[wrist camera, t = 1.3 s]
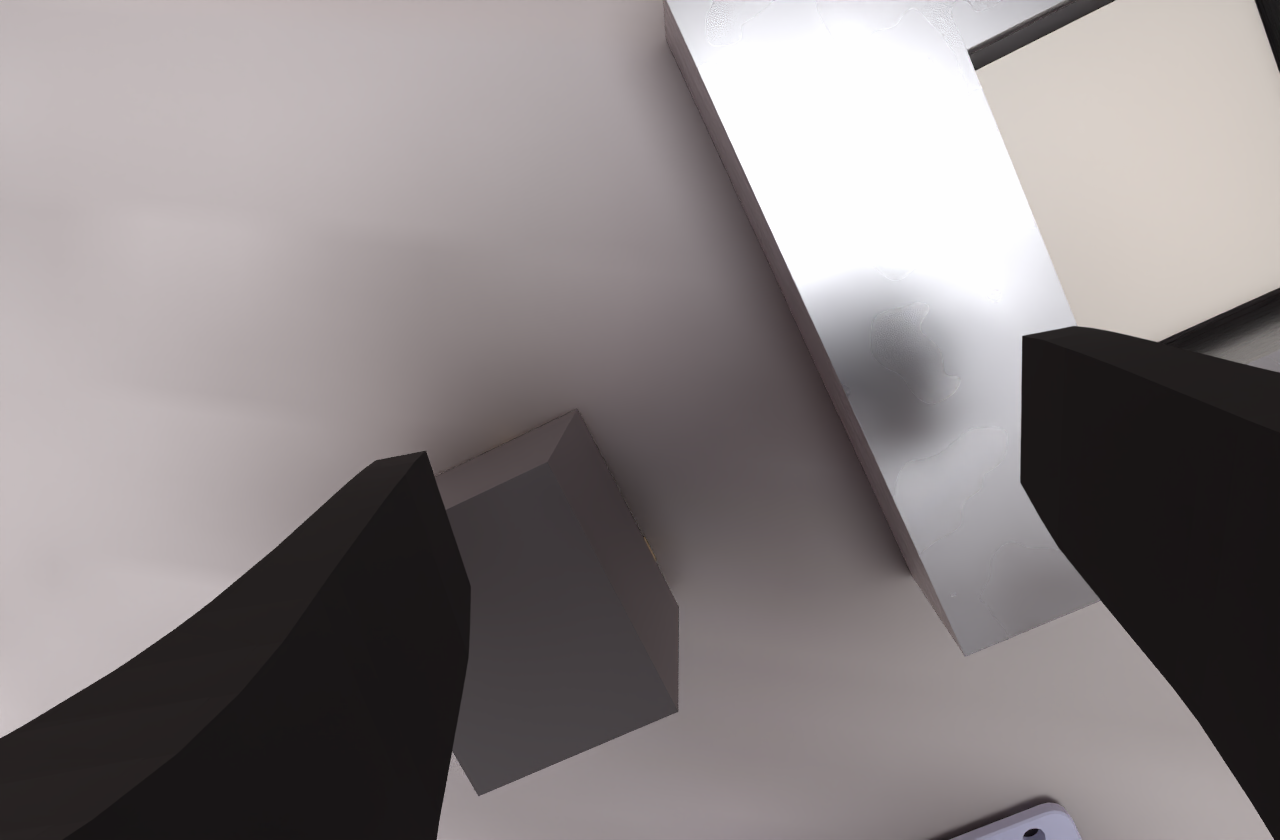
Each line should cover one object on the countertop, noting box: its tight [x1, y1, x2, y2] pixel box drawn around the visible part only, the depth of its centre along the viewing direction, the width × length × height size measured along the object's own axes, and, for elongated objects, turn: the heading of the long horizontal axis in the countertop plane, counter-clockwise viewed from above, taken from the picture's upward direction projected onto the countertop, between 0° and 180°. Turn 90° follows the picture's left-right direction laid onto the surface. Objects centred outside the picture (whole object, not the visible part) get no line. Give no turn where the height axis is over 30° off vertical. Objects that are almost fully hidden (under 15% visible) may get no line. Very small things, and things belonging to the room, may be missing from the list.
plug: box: [435, 409, 679, 796], centre depth 19 cm, size 4×5×6 cm
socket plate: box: [663, 0, 1280, 656], centre depth 17 cm, size 14×13×4 cm
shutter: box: [975, 0, 1280, 342], centre depth 18 cm, size 5×6×1 cm
